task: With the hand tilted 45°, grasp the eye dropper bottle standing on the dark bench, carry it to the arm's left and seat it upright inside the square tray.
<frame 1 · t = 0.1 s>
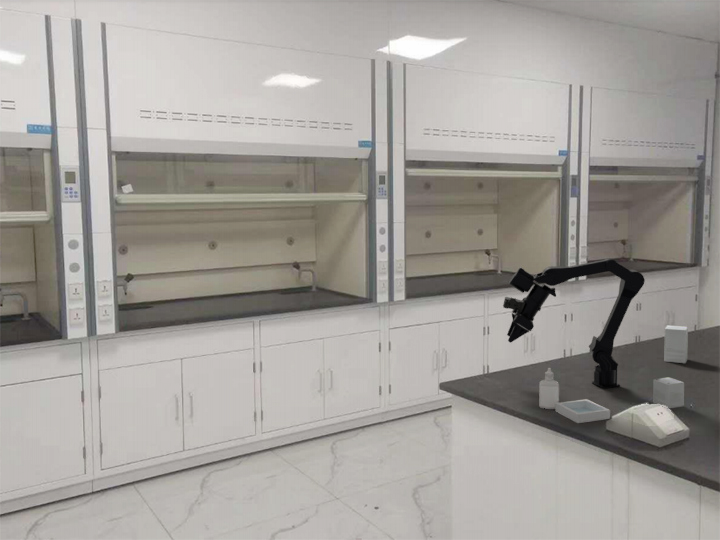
hand: (508, 338, 214), 15 cm above the countertop, tool tilted 35°, fingers open, 9 cm apart
supplement box: (675, 361, 238), on the countertop
square tray: (582, 415, 181), on the countertop
eye dropper bottle: (548, 408, 188), on the countertop
skincare box: (668, 405, 189), on the countertop
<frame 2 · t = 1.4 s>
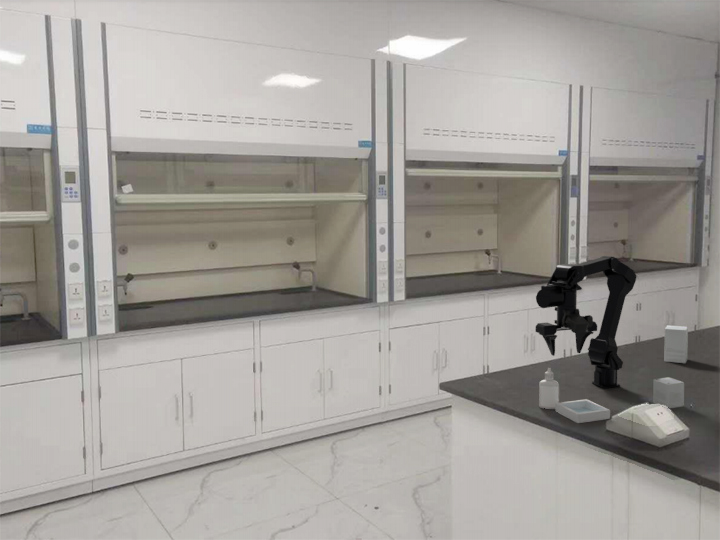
hand: (565, 354, 199), 13 cm above the countertop, tool pointing down, fingers open, 9 cm apart
nothing on the countertop moved.
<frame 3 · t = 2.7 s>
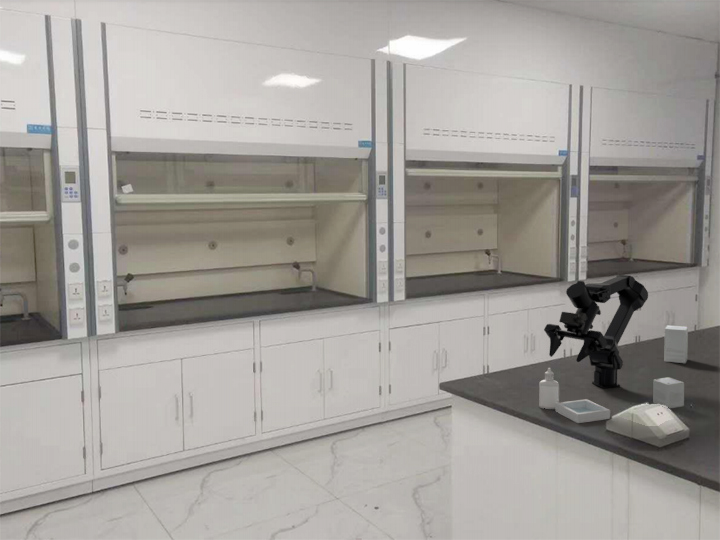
hand: (563, 358, 192), 13 cm above the countertop, tool tilted 45°, fingers open, 9 cm apart
nothing on the countertop moved.
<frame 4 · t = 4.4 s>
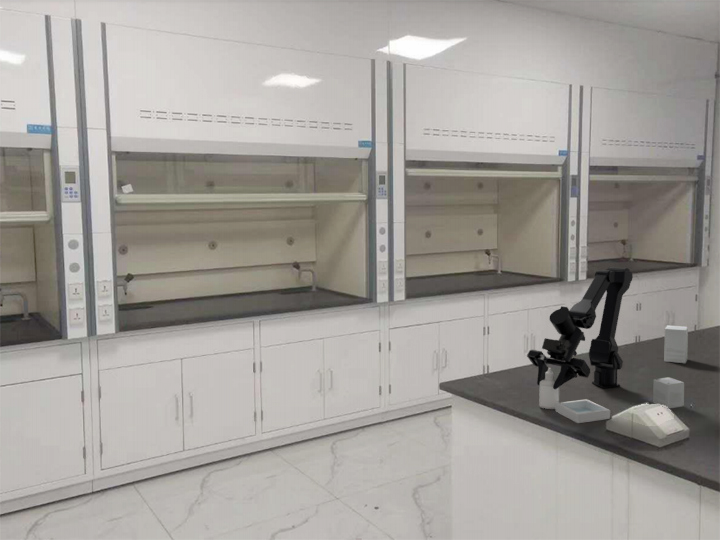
hand: (546, 386, 187), 7 cm above the countertop, tool tilted 45°, fingers closed on eye dropper bottle, 5 cm apart
eye dropper bottle: (548, 408, 188), on the countertop, touching gripper
everything else where it was.
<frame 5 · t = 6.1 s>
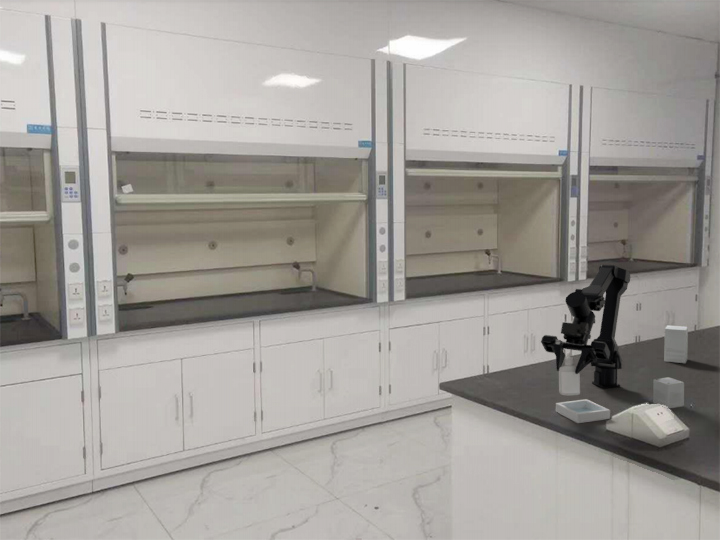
hand: (566, 371, 182), 12 cm above the countertop, tool tilted 45°, fingers closed on eye dropper bottle, 5 cm apart
eye dropper bottle: (569, 394, 183), point 5 cm above the countertop, touching gripper
everything else where it was.
when the fingers open (8 cm above the countertop, at t = 7.6 s): eye dropper bottle stays where it is, resting on square tray.
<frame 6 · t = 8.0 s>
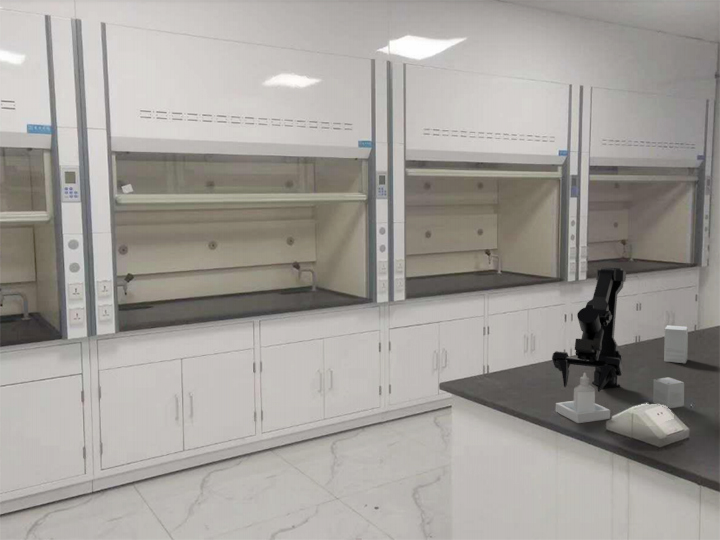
hand: (581, 388, 179), 8 cm above the countertop, tool tilted 45°, fingers open, 9 cm apart
eye dropper bottle: (584, 414, 181), resting on square tray
everything else where it was.
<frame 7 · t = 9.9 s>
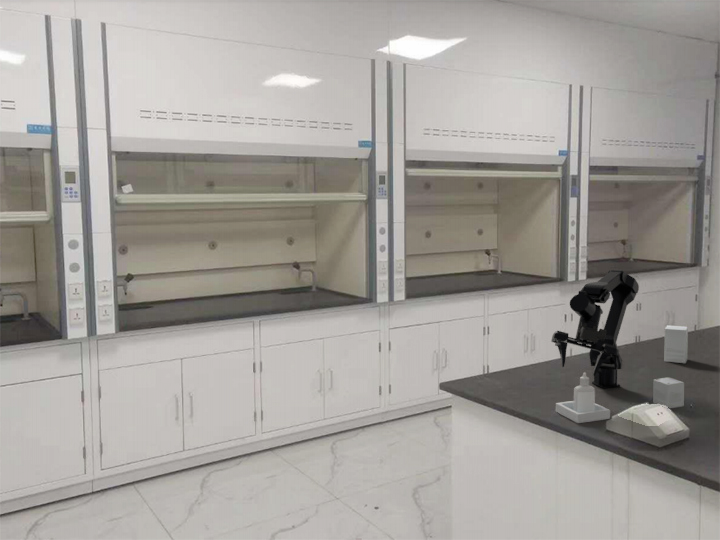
hand: (578, 371, 192), 9 cm above the countertop, tool tilted 30°, fingers open, 9 cm apart
nothing on the countertop moved.
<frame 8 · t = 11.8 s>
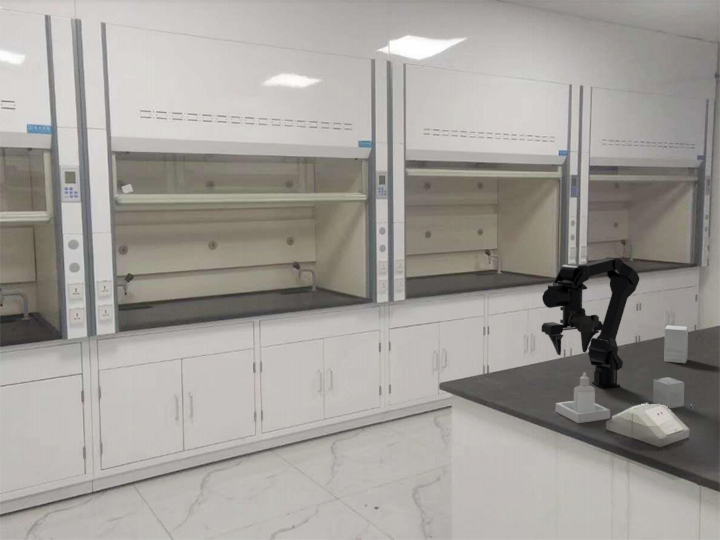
hand: (571, 353, 200), 13 cm above the countertop, tool pointing down, fingers open, 9 cm apart
nothing on the countertop moved.
at the end: eye dropper bottle inside the target area on the square tray (0.5 cm from its centre), point 0.1 cm above the square tray's base; eye dropper bottle tilted 0°; the gripper is holding nothing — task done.
